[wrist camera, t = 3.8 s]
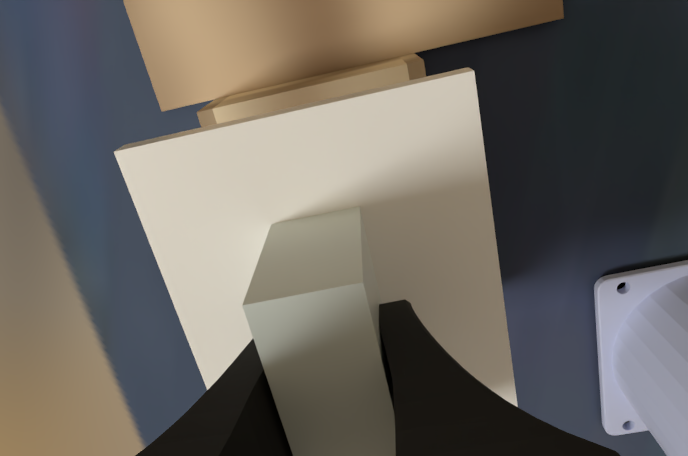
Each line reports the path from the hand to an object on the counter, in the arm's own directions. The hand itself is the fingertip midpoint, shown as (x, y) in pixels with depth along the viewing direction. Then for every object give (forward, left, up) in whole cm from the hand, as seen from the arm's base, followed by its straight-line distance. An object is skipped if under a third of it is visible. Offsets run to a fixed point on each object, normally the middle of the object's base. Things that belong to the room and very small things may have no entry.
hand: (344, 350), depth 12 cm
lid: (0, 0, -2) cm, 2 cm away
